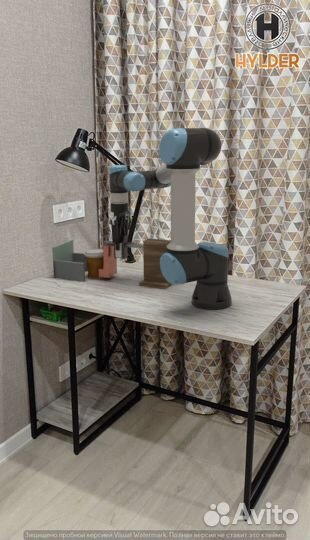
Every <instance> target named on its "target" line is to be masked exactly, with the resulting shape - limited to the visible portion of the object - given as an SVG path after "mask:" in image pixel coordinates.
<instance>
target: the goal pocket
mask: <svg viewBox="0 0 310 540" xmlns="http://www.w3.org/2000/svg"><path fill="white" fill-rule="evenodd" d="M51 250H52V264H53V265H52V266H53V267H52V268H53V269H52V270H53V279H58V280H59V279H60V280H69V281H78V282H85V281H86V272H88V270H87V264H86V258H85V255H84V253H85V252H84V253H82V252H75V251H74V239H69V240H68V241H64V242H62V243H59V244H57V245H54V246H52V249H51Z"/></svg>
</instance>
